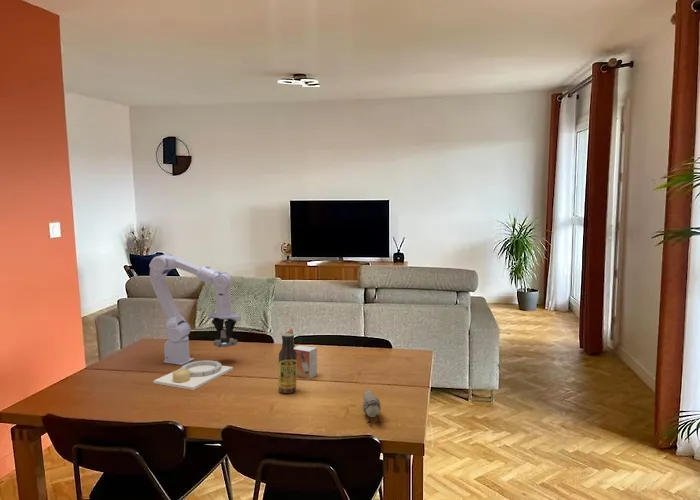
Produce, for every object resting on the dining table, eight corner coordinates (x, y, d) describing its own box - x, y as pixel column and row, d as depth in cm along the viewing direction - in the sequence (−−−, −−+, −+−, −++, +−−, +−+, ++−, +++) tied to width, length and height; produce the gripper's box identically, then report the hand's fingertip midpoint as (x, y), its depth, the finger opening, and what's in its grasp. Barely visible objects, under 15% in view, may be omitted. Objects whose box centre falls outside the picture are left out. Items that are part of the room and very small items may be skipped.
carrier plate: (153, 383, 193) (152, 372, 193) (195, 364, 214) (195, 354, 214) (193, 390, 186) (193, 379, 186) (232, 369, 207) (232, 359, 207)
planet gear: (207, 346, 213) (207, 331, 212) (222, 339, 222) (222, 325, 221) (227, 348, 209) (227, 333, 209) (242, 342, 218) (241, 327, 217)
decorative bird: (376, 405, 172) (376, 382, 171) (383, 427, 156) (383, 402, 155) (359, 405, 172) (359, 383, 171) (365, 427, 156) (365, 403, 155)
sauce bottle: (279, 395, 181) (278, 337, 178) (277, 388, 187) (275, 333, 184) (298, 393, 182) (297, 336, 180) (295, 386, 188) (294, 331, 186)
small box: (291, 376, 199) (290, 348, 198) (299, 371, 204) (299, 344, 203) (309, 379, 196) (309, 351, 194) (317, 374, 201) (317, 347, 199)
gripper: (244, 303, 214) (245, 336, 216) (215, 300, 220) (216, 332, 222) (234, 306, 208) (235, 340, 210) (204, 303, 214) (205, 337, 215)
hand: (225, 337), depth 215 cm, fingers closed on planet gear, 4 cm apart
